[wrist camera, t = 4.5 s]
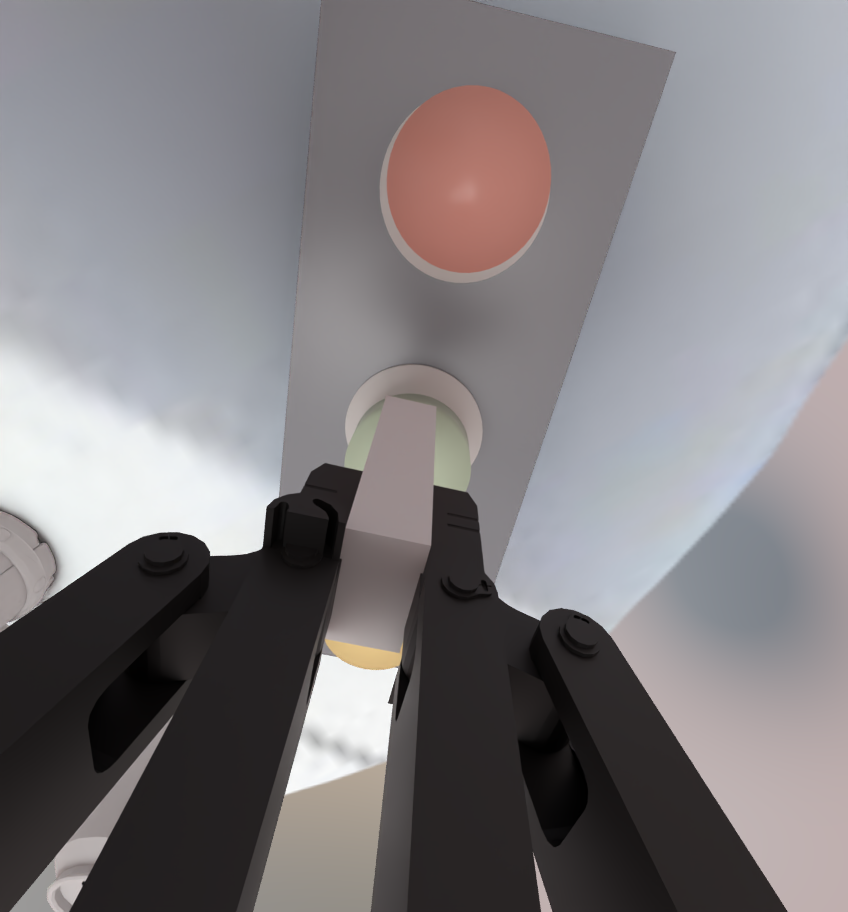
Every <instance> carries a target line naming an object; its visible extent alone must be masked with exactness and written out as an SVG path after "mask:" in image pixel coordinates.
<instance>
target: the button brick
mask: <svg viewBox="0 0 848 912" xmlns="http://www.w3.org/2000/svg"><path fill="white" fill-rule="evenodd" d="M550 186H551V164H550V157H549V152H548V148H547V144H546V141H545V139H544V136H543V134H542V131H541V130H540V128H539V126H538V124H537V122H536V121H535V119H534V118H533V117H532V115H531V114H530V113H529V111H528V110H527V109H526V108H525V107H524V106H523V105H522V104H521V103H519V102H518V101H517V100H515V99H514V98H513V97H511V96H510V95H508V94H506V93H504V92H502V91H500V90H497V89H494V88H491V87H486V86H479V85H465V86H459V87H454V88H451V89H448V90H445V91H442V92H440V93H439V94H437V95H435V96H433V97H431V98H430V99H428V100H427V101H426V102H424V103H423V104H422V105H421V106H420V107H419V108H417V109H416V110H415V111H414V112H413V114H412V115H411V116H410V117H409V118H408V120H407V121H406V122H405V124H404V126H403V127H402V129H401V130H400V132H399V134H398V136H397V138H396V140H395V143H394V145H393V148H392V151H391V154H390V159H389V164H388V170H387V196H388V203H389V207H390V211H391V215H392V217H393V220H394V222H395V225H396V227H397V229H398V231H399V233H400V234H401V236H402V238H403V239H404V240H405V242H406V243H407V245H408V246H409V247H410V248H411V249H412V250H413V251H414V252H415V253H416V254H417V255H419V256H420V257H421V258H422V259H424V260H425V261H427V262H428V263H430V264H432V265H434V266H436V267H438V268H440V269H444V270H447V271H451V272H458V273H473V272H480V271H484V270H488V269H491V268H493V267H495V266H498V265H500V264H502V263H503V262H505V261H507V260H508V259H510V258H511V257H512V256H514V255H515V254H516V253H517V252H518V251H519V250H520V249H521V248H523V247H524V246H525V244H526V243H527V242H528V241H529V239H530V238H531V237H532V235H533V234H534V232H535V231H536V229H537V227H538V226H539V224H540V222H541V219H542V217H543V215H544V212H545V209H546V206H547V203H548V198H549V194H550Z"/></svg>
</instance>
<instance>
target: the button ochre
mask: <svg viewBox="0 0 848 912" xmlns="http://www.w3.org/2000/svg"><path fill="white" fill-rule="evenodd" d="M325 642H326V644H327V646H328V647H329V649H330V650H331V651H332V652H333V653H334V654H335V655H336V656H337V657H338V658H340V659H341V660H343V661H344V662H346V663H348V664H350V665H353V666H356V667H359V668H363V669H370V670H383V669H390V668H393V667H396V666H399V665H400V662H401V658H402V648H403V643H402V646H401V650H400V653H396V652H390V651H385V650H380V649H375V648H369V647H364V646H359V645H354V644H349V643H343V642H338V641H333V640H328V639H325Z"/></svg>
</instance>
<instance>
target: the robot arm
mask: <svg viewBox="0 0 848 912" xmlns="http://www.w3.org/2000/svg"><path fill="white" fill-rule="evenodd" d="M435 433H436V406H432V405H427V404H423V403H419V402H414V401H410V400H405V399H401V398H397V397H392V396H388V395H386V398H385V402H384V405H383V408H382V411H381V415H380V418H379V421H378V424H377V427H376V431H375V434H374V437H373V440H372V444H371V447H370V450H369V453H368V457H367V460H366V463H365V466H364V470H363V471H360V470H355V469H351V468H346V467H341V466H337V465H332V464H328V463H324V464H322V465H321V466H319V467H318V468H316V469H314V470H313V471H311V473H310V475H309V477H308V479H307V481H306V482H305V485H304V486H303V488H302V490H301V492H300V493H294V494H286V495H284V496H281V497H279V498H277V499H274V500H273V501H272V502H271V503H270V504H269V505H268V506H267V509H266V519H265V530H264V541H263V547H262V549H261V550H259V551H256V552H252V553H248V554H243V555H232V556H210V551H209V549H208V548H207V546H206V545H205V543H204V542H203V541H201V540H199V539H198V538H196V537H194V536H192V535H187V534H183V533H179V532H168V533H157V534H153V535H148V536H144V537H142V538H140V539H138V540H136V541H134V542H132V543H130V544H128V545H126V546H125V547H124V548H122V549H121V550H119V551H118V552H116V553H115V554H113V555H112V556H111V557H109V558H108V559H106V560H105V561H103V562H102V563H100V564H99V565H97V566H96V567H95V568H93V569H92V570H90V571H89V572H87V573H86V574H84V575H83V576H81V577H80V578H79V579H77V580H76V581H74V582H73V583H71V584H70V585H68V586H67V587H66V588H64V589H63V590H61V591H60V592H58V593H57V594H55V595H54V596H52V597H51V598H50V599H48V600H47V601H45V602H44V603H42V604H41V605H39V606H38V607H36V608H35V609H34V610H32V611H31V612H29V613H28V614H26V615H25V616H23V617H22V618H21V619H19V620H18V621H16V622H15V623H13V624H12V625H10V626H9V627H7V628H6V629H5V630H3V631H2V632H0V912H9V911H10V910H11V909H12V908H13V907H14V905H15V904H16V903H17V901H19V899H20V898H21V897H22V896H23V895H24V893H25V892H26V891H27V889H29V887H30V886H31V885H32V884H33V883H34V881H35V880H36V879H37V878H38V877H39V875H40V874H41V873H42V872H43V871H44V869H45V868H46V867H47V865H49V863H50V862H51V861H52V860H53V859H54V857H55V856H56V855H57V854H58V853H59V851H60V850H61V849H62V848H63V847H64V845H65V844H66V843H67V842H68V841H69V839H70V838H71V837H72V836H73V835H74V834H75V832H76V831H77V830H78V829H79V828H80V826H81V825H82V824H83V823H84V822H85V820H86V819H87V818H88V817H89V816H90V814H91V813H92V812H93V811H94V810H95V808H96V807H97V806H98V805H99V804H100V802H101V801H102V800H103V799H104V798H105V796H106V795H107V794H108V793H109V792H110V790H111V789H112V788H113V787H114V786H115V784H116V783H117V782H118V781H119V780H120V778H121V777H122V776H123V775H124V774H125V772H126V771H127V770H128V769H129V768H130V766H131V765H132V764H133V763H134V762H135V760H136V759H137V758H138V757H139V756H140V754H141V753H142V752H143V751H144V750H145V748H146V747H147V746H148V745H149V744H150V742H151V741H152V740H153V739H154V738H155V736H156V735H157V734H158V733H159V732H160V730H161V729H162V728H163V727H164V726H165V724H166V723H167V722H168V721H169V720H170V718H171V717H172V716H173V717H172V719H171V721H170V722H169V724H168V726H167V728H166V730H165V732H164V734H163V736H162V738H161V739H160V741H159V743H158V745H157V747H156V749H155V751H154V753H153V755H152V756H151V758H150V760H149V762H148V764H147V766H146V768H145V770H144V771H143V773H142V775H141V777H140V779H139V781H138V783H137V785H136V787H135V788H134V790H133V792H132V794H131V796H130V798H129V800H128V802H127V804H126V805H125V807H124V809H123V811H122V813H121V815H120V817H119V819H118V820H117V822H116V824H115V826H114V828H113V830H112V832H111V834H110V836H109V837H108V839H107V841H106V843H105V845H104V847H103V849H102V851H101V853H100V854H99V856H98V858H97V860H96V862H95V864H94V866H93V868H92V869H91V871H90V873H89V875H88V877H87V879H86V881H85V883H84V885H83V886H82V888H81V890H80V892H79V894H78V896H77V898H76V900H75V902H74V903H73V905H72V907H71V909H70V911H69V912H253V910H254V906H255V902H256V899H257V895H258V891H259V887H260V883H261V880H262V876H263V873H264V869H265V865H266V861H267V858H268V854H269V850H270V847H271V843H272V839H273V836H274V831H275V828H276V824H277V821H278V816H279V813H280V810H281V806H282V802H283V798H284V795H285V791H286V787H287V784H288V780H289V776H290V772H291V769H292V765H293V761H294V758H295V754H296V750H297V746H298V743H299V739H300V735H301V732H302V728H303V724H304V720H305V717H306V713H307V709H308V706H309V702H310V698H311V695H312V691H313V687H314V683H315V680H316V676H317V672H318V669H319V665H320V660H321V655H322V649H323V644H324V641H325V639H328V640H333V641H338V642H343V643H349V644H354V645H359V646H364V647H369V648H375V649H380V650H385V651H390V652H396V653H400V650H401V646H402V643H403V648H402V658H401V662H400V665H399V668H398V672H397V675H396V678H395V682H394V685H393V688H392V692H391V695H390V698H389V702H388V703H389V704H393V709H392V718H391V727H390V737H389V746H388V756H387V765H386V775H385V784H384V793H383V803H382V812H381V822H380V831H379V840H378V849H377V859H376V868H375V878H374V887H373V896H372V906H371V912H541V909H540V901H539V894H538V886H537V880H536V871H535V864H534V857H533V853H534V856H535V859H536V862H537V865H538V868H539V871H540V874H541V878H542V881H543V883H544V887H545V890H546V892H547V896H548V899H549V902H550V905H551V908H552V912H787V910H786V908H785V907H784V905H783V904H782V902H781V901H780V899H779V897H778V896H777V894H776V893H775V891H774V890H773V888H772V887H771V885H770V883H769V882H768V880H767V879H766V877H765V876H764V874H763V873H762V871H761V870H760V868H759V866H758V865H757V863H756V862H755V860H754V859H753V857H752V856H751V854H750V852H749V851H748V849H747V848H746V846H745V845H744V843H743V841H742V840H741V839H740V837H739V835H738V834H737V832H736V831H735V829H734V827H733V826H732V824H731V823H730V821H729V820H728V818H727V817H726V815H725V814H724V812H723V810H722V809H721V807H720V806H719V804H718V802H717V801H716V799H715V798H714V797H713V795H712V793H711V792H710V790H709V788H708V787H707V786H706V784H705V782H704V781H703V779H702V778H701V776H700V774H699V773H698V772H697V770H696V768H695V767H694V765H693V764H692V762H691V760H690V759H689V757H688V756H687V754H686V753H685V751H684V750H683V748H682V746H681V745H680V743H679V742H678V740H677V739H676V737H675V736H674V734H673V732H672V731H671V729H670V728H669V726H668V725H667V723H666V721H665V720H664V718H663V717H662V715H661V714H660V712H659V711H658V709H657V708H656V706H655V704H654V703H653V701H652V700H651V698H650V697H649V695H648V693H647V692H646V690H645V689H644V687H643V686H642V684H641V683H640V681H639V680H638V678H637V676H636V675H635V674H634V672H633V670H632V669H631V667H630V665H629V664H628V663H627V661H626V659H625V658H624V656H623V655H622V653H621V651H620V650H619V648H618V647H617V645H616V644H615V642H614V641H613V639H612V638H611V636H610V635H609V634H608V633H607V632H606V631H605V629H604V628H603V627H602V626H601V625H599V624H598V623H597V622H595V621H594V620H593V619H591V618H590V617H588V616H586V615H584V614H581V613H579V612H577V611H574V610H568V609H563V608H560V609H554V610H549V611H548V612H547V613H546V614H545V615H543V616H542V618H541V620H540V621H539V620H537V619H535V618H533V617H531V616H529V615H526V614H524V613H522V612H520V611H518V610H516V609H514V608H512V607H510V606H509V605H507V604H506V603H504V602H503V601H502V600H501V599H499V598H498V592H497V590H496V587H495V585H494V583H493V581H492V580H491V579H490V578H489V577H488V576H487V575H486V574H485V571H484V562H483V553H482V544H481V535H480V526H479V522H478V520H479V517H478V508H477V505H476V503H475V502H474V500H473V499H472V498H471V496H470V495H469V493H468V492H464V491H459V490H455V489H450V488H445V487H441V486H436V485H433V484H434V459H435Z"/></svg>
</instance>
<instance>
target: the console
mask: <svg viewBox="0 0 848 912" xmlns="http://www.w3.org/2000/svg"><path fill="white" fill-rule="evenodd" d="M675 53H676V52H673V51H669V50H665V49H661V48H657V47H653V46H649V45H645V44H641V43H637V42H633V41H629V40H625V39H621V38H617V37H613V36H610V35H606V34H602V33H598V32H594V31H590V30H586V29H582V28H578V27H574V26H570V25H566V24H562V23H558V22H554V21H550V20H546V19H542V18H538V17H534V16H530V15H526V14H522V13H518V12H514V11H510V10H506V9H502V8H498V7H494V6H490V5H486V4H482V3H478V2H474V1H470V0H321V8H320V20H319V32H318V43H317V55H316V67H315V79H314V91H313V102H312V114H311V126H310V138H309V150H308V161H307V173H306V185H305V197H304V209H303V220H302V232H301V244H300V256H299V268H298V279H297V291H296V303H295V315H294V327H293V338H292V350H291V362H290V374H289V386H288V397H287V409H286V421H285V433H284V445H283V456H282V468H281V480H280V492H279V497H281V496H284V495H286V494H294V493H300V492H301V490H302V488H303V486H304V485H305V482H306V481H307V479H308V477H309V475H310V473H311V471H313V470H314V469H316V468H318V467H319V466H321V465H322V464H324V463H328V464H332V465H337V466H341V467H344V463H345V455H346V450H347V448H348V445H349V443H350V440H351V438H352V436H353V434H354V431H355V429H356V427H357V425H358V423H359V421H360V419H361V418H362V416H363V415H364V414H365V412H366V411H367V410H368V409H369V408H370V407H372V406H373V405H374V404H376V403H377V402H379V401H381V400H383V399H385V398H386V395H388V396H394V395H398V394H406V393H410V394H421V395H425V396H429V397H432V398H434V399H436V400H438V401H440V402H442V403H444V404H445V405H446V406H448V407H449V408H450V409H451V410H452V411H453V412H454V413H455V414H456V415H457V416H458V417H459V419H460V420H461V422H462V424H463V425H464V427H465V430H466V432H467V436H468V441H469V452H470V462H471V476H470V481H469V484H468V487H467V490H466V492H468V493H469V495H470V496H471V498H472V499H473V500H474V502H475V503H476V505H477V508H478V517H479V520H478V522H479V526H480V535H481V544H482V553H483V562H484V571H485V574H486V575H487V576H488V577H489V578H490V579H491V580H492V581H493V583H495V580H496V577H497V574H498V571H499V568H500V565H501V562H502V559H503V556H504V554H505V551H506V548H507V545H508V542H509V539H510V536H511V533H512V530H513V527H514V524H515V521H516V518H517V516H518V513H519V510H520V507H521V504H522V501H523V498H524V495H525V492H526V489H527V486H528V483H529V480H530V477H531V475H532V472H533V469H534V466H535V463H536V460H537V457H538V454H539V451H540V448H541V445H542V442H543V439H544V437H545V434H546V431H547V428H548V425H549V422H550V419H551V416H552V413H553V410H554V407H555V404H556V401H557V399H558V396H559V393H560V390H561V387H562V384H563V381H564V378H565V375H566V372H567V369H568V366H569V363H570V361H571V358H572V355H573V352H574V349H575V346H576V343H577V340H578V337H579V334H580V331H581V328H582V325H583V322H584V320H585V317H586V314H587V311H588V308H589V305H590V302H591V299H592V296H593V293H594V290H595V287H596V284H597V282H598V279H599V276H600V273H601V270H602V267H603V264H604V261H605V258H606V255H607V252H608V249H609V246H610V244H611V241H612V238H613V235H614V232H615V229H616V226H617V223H618V220H619V217H620V214H621V211H622V208H623V206H624V203H625V200H626V197H627V194H628V191H629V188H630V185H631V182H632V179H633V176H634V173H635V170H636V167H637V165H638V162H639V159H640V156H641V153H642V150H643V147H644V144H645V141H646V138H647V135H648V132H649V129H650V127H651V124H652V121H653V118H654V115H655V112H656V109H657V106H658V103H659V100H660V97H661V94H662V91H663V89H664V86H665V83H666V80H667V77H668V74H669V71H670V68H671V65H672V62H673V59H674V56H675ZM465 85H479V86H486V87H491V88H494V89H497V90H500V91H502V92H504V93H506V94H508V95H510V96H511V97H513V98H514V99H515V100H517V101H518V102H519V103H521V104H522V105H523V106H524V107H525V108H526V109H527V110H528V111H529V113H530V114H531V115H532V117H533V118H534V119H535V121H536V122H537V124H538V126H539V128H540V130H541V131H542V134H543V136H544V139H545V141H546V144H547V148H548V152H549V157H550V164H551V186H550V194H549V198H548V203H547V206H546V209H545V212H544V215H543V217H542V219H541V222H540V224H539V226H538V227H537V229H536V231H535V232H534V234H533V235H532V237H531V238H530V239H529V241H528V242H527V243H526V244H525V246H524V247H523V248H521V249H520V250H519V251H518V252H517V253H516V254H515V255H514V256H512V257H511V258H510V259H508V260H507V261H505V262H503V263H502V264H500V265H498V266H495V267H493V268H491V269H488V270H484V271H480V272H473V273H458V272H451V271H447V270H444V269H440V268H438V267H436V266H434V265H432V264H430V263H428V262H427V261H425V260H424V259H422V258H421V257H420V256H419V255H417V254H416V253H415V252H414V251H413V250H412V249H411V248H410V247H409V246H408V245H407V243H406V242H405V240H404V239H403V238H402V236H401V234H400V233H399V231H398V229H397V227H396V225H395V222H394V220H393V217H392V215H391V211H390V207H389V203H388V196H387V170H388V164H389V159H390V154H391V151H392V148H393V145H394V143H395V140H396V138H397V136H398V134H399V132H400V130H401V129H402V127H403V126H404V124H405V122H406V121H407V120H408V118H409V117H410V116H411V115H412V114H413V112H414V111H415V110H416V109H417V108H419V107H420V106H421V105H422V104H423V103H424V102H426V101H427V100H428V99H430V98H431V97H433V96H435V95H437V94H439V93H440V92H442V91H445V90H448V89H451V88H454V87H459V86H465ZM322 654H324V655H330V656H335V657H337V656H336V655H335V654H334V653H333V652H332V651H331V650H330V649H329V647H328V646H327V644H326V642H325V641H324V644H323V649H322ZM396 668H399V666H396Z"/></svg>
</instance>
